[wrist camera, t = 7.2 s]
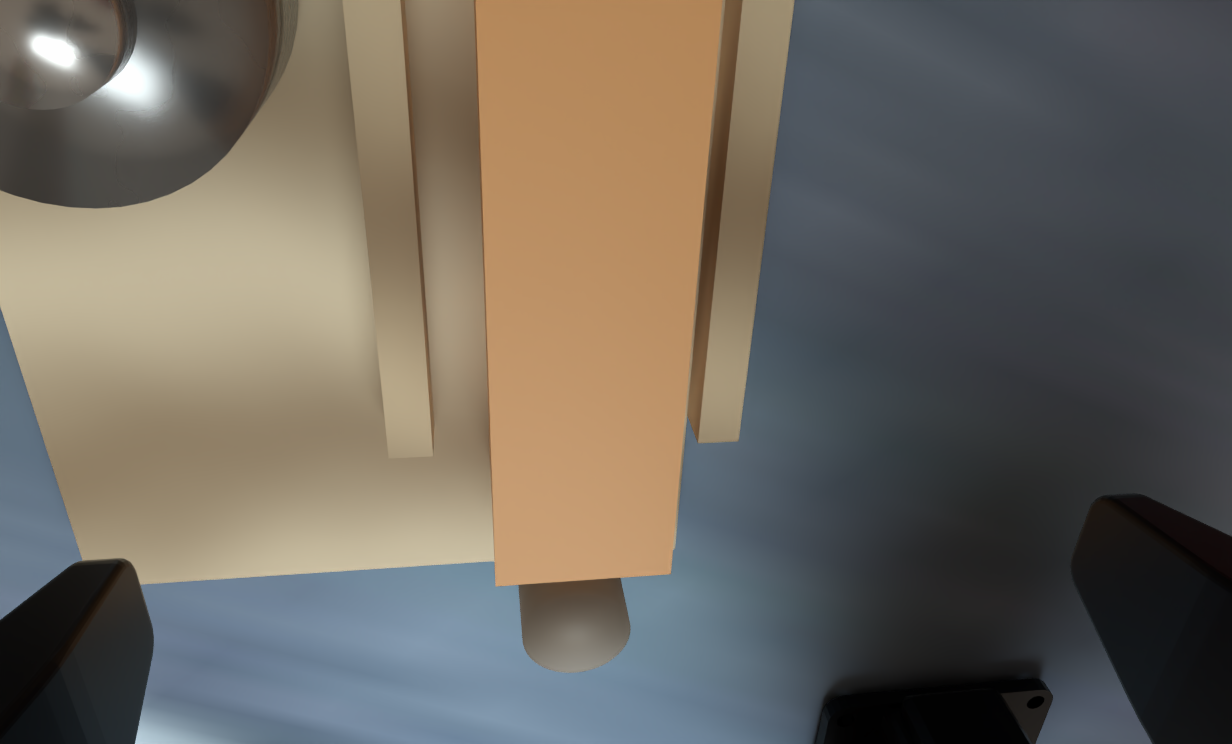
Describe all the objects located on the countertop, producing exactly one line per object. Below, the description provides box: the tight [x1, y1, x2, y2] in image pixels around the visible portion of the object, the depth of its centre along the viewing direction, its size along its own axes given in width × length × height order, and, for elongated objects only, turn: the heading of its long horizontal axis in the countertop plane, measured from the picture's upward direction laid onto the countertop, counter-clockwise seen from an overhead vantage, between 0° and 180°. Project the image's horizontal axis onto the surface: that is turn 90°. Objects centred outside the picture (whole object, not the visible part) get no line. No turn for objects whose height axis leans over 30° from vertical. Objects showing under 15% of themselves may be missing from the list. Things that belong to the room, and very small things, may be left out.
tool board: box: [0, 0, 794, 673], centre depth 14 cm, size 18×13×4 cm
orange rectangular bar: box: [474, 0, 723, 586], centre depth 15 cm, size 10×3×4 cm, turn 178°
